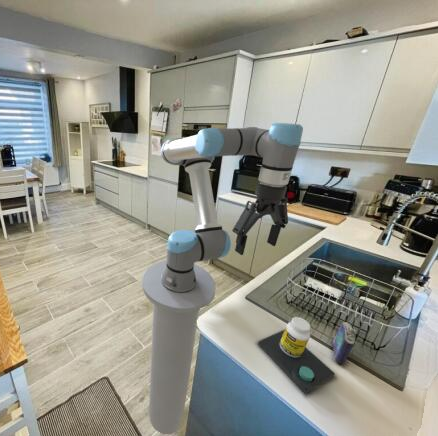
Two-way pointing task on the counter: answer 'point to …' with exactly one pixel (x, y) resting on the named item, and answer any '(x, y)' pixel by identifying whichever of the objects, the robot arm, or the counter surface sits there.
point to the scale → (296, 363)
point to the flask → (343, 343)
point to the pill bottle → (295, 337)
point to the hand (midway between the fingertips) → (255, 248)
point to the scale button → (306, 373)
